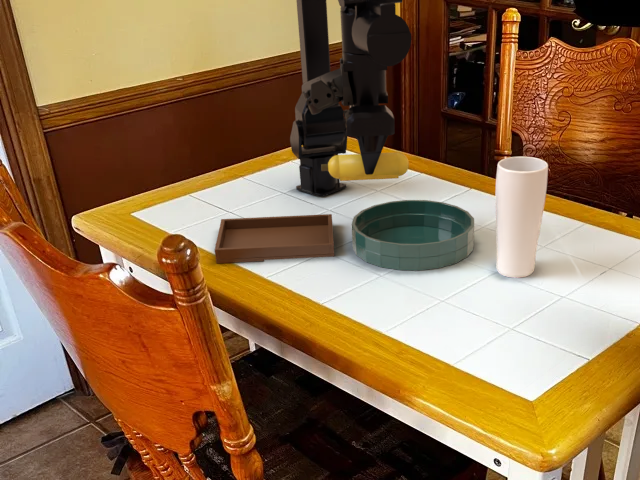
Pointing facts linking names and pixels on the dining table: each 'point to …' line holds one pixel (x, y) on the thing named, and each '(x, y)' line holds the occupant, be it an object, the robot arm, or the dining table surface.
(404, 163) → the yellow gas canister
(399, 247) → the green round cake pan
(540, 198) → the drinking glass
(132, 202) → the dining table surface
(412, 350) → the dining table surface
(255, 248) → the tray
